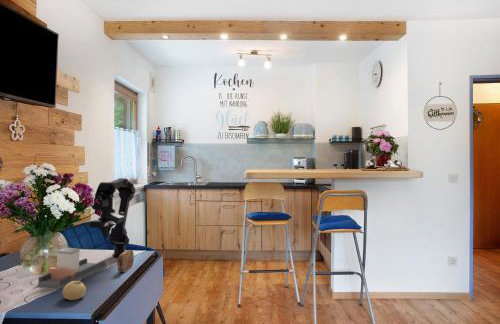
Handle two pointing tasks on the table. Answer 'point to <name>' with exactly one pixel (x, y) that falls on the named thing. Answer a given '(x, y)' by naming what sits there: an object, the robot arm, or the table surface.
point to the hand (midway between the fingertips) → (106, 238)
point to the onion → (74, 290)
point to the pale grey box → (68, 258)
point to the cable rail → (57, 281)
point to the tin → (125, 261)
